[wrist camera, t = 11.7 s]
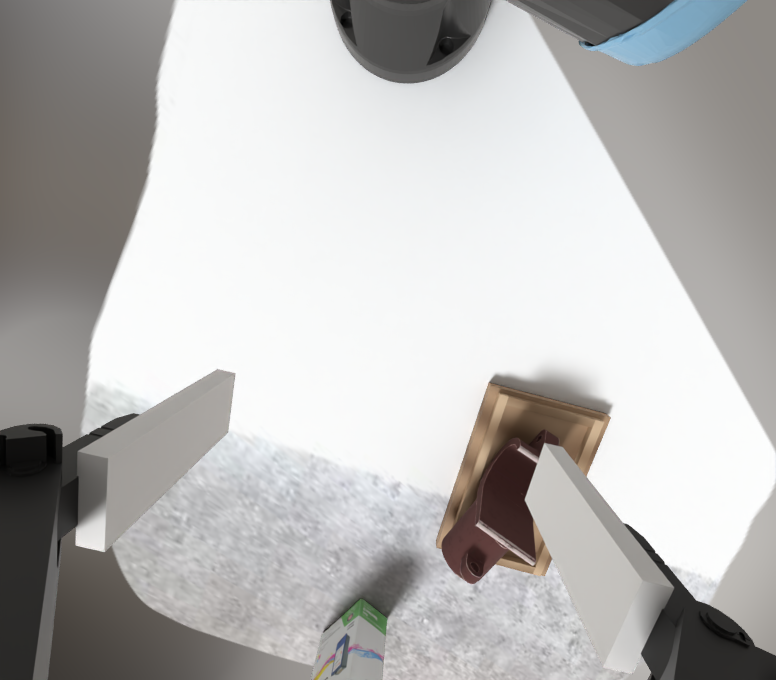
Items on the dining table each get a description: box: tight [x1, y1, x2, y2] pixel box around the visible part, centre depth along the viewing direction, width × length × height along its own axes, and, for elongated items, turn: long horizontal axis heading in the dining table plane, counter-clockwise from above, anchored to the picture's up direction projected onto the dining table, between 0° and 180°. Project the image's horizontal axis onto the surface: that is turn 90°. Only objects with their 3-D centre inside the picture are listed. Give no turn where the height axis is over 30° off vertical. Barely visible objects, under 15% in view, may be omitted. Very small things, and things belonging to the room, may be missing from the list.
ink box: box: [311, 599, 387, 680], centre depth 45 cm, size 9×5×12 cm, turn 138°
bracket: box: [441, 429, 559, 584], centre depth 39 cm, size 6×17×10 cm, turn 148°
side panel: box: [436, 383, 611, 576], centre depth 44 cm, size 22×14×2 cm, turn 165°
